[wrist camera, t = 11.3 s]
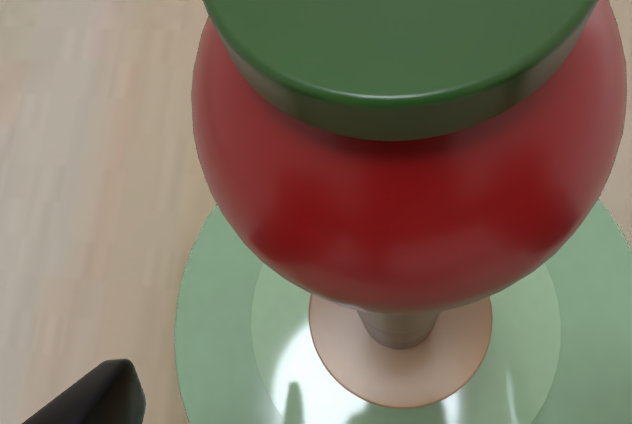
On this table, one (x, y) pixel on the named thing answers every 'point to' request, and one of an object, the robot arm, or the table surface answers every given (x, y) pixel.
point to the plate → (432, 420)
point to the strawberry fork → (406, 163)
